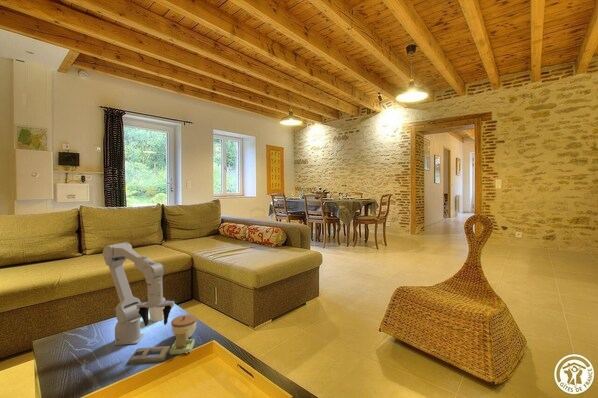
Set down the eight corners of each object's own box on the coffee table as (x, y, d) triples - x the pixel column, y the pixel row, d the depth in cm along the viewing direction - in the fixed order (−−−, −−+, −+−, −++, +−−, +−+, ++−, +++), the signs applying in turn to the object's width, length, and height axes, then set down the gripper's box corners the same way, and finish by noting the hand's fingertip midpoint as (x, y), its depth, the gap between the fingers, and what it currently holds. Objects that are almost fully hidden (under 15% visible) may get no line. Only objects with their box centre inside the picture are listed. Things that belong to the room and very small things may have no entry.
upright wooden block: (176, 350, 121) (175, 334, 121) (178, 345, 125) (178, 329, 125) (186, 349, 121) (185, 333, 121) (188, 344, 125) (188, 328, 125)
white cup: (154, 323, 147) (153, 304, 147) (145, 320, 151) (145, 301, 151) (168, 317, 154) (168, 299, 153) (160, 314, 158) (159, 296, 158)
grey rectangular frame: (128, 363, 113) (128, 359, 113) (137, 352, 121) (137, 348, 121) (163, 360, 115) (163, 356, 115) (170, 349, 123) (170, 345, 123)
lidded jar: (180, 344, 127) (179, 323, 126) (167, 337, 133) (166, 317, 133) (201, 334, 135) (201, 314, 135) (188, 328, 142) (187, 309, 141)
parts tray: (169, 354, 119) (169, 350, 119) (175, 344, 127) (175, 340, 127) (190, 353, 120) (190, 348, 120) (194, 343, 128) (194, 338, 128)
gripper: (132, 297, 118) (133, 329, 119) (170, 294, 120) (171, 327, 121) (140, 291, 125) (141, 322, 126) (175, 289, 127) (176, 319, 128)
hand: (156, 324), depth 124 cm, fingers open, 7 cm apart
